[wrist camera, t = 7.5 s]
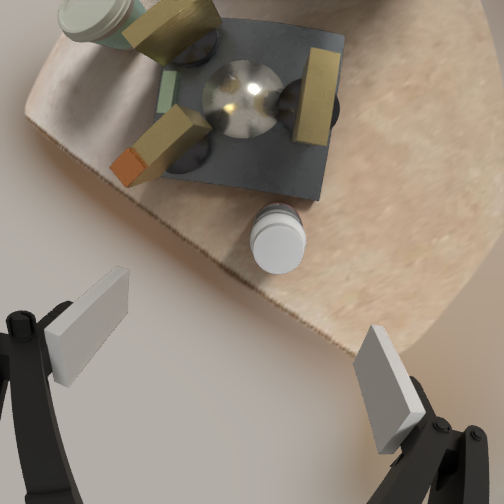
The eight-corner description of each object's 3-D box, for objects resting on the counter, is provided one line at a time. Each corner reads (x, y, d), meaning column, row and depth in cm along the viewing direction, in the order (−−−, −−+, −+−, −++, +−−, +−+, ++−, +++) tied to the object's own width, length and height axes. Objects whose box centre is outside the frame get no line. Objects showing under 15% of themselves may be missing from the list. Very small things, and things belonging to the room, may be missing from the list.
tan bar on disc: (192, 101, 32) (158, 86, 22) (228, 142, 33) (207, 142, 23) (142, 148, 34) (95, 152, 24) (175, 188, 35) (138, 206, 25)
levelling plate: (177, 22, 30) (169, 14, 27) (341, 40, 30) (347, 32, 27) (153, 174, 37) (143, 176, 34) (316, 198, 37) (320, 203, 34)
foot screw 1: (204, 6, 28) (180, -33, 18) (236, 40, 29) (221, 5, 20) (150, 46, 30) (111, 21, 20) (179, 81, 31) (145, 62, 22)
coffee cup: (160, -4, 29) (121, -44, 18) (168, 47, 31) (127, 14, 20) (103, 19, 30) (53, -8, 19) (109, 70, 33) (54, 52, 21)
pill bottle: (291, 253, 39) (295, 288, 30) (247, 238, 39) (238, 269, 30) (308, 210, 37) (318, 233, 28) (262, 194, 37) (258, 212, 28)
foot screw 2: (283, 70, 30) (285, 42, 21) (340, 81, 30) (364, 59, 21) (272, 138, 33) (271, 135, 23) (330, 149, 33) (350, 151, 23)
